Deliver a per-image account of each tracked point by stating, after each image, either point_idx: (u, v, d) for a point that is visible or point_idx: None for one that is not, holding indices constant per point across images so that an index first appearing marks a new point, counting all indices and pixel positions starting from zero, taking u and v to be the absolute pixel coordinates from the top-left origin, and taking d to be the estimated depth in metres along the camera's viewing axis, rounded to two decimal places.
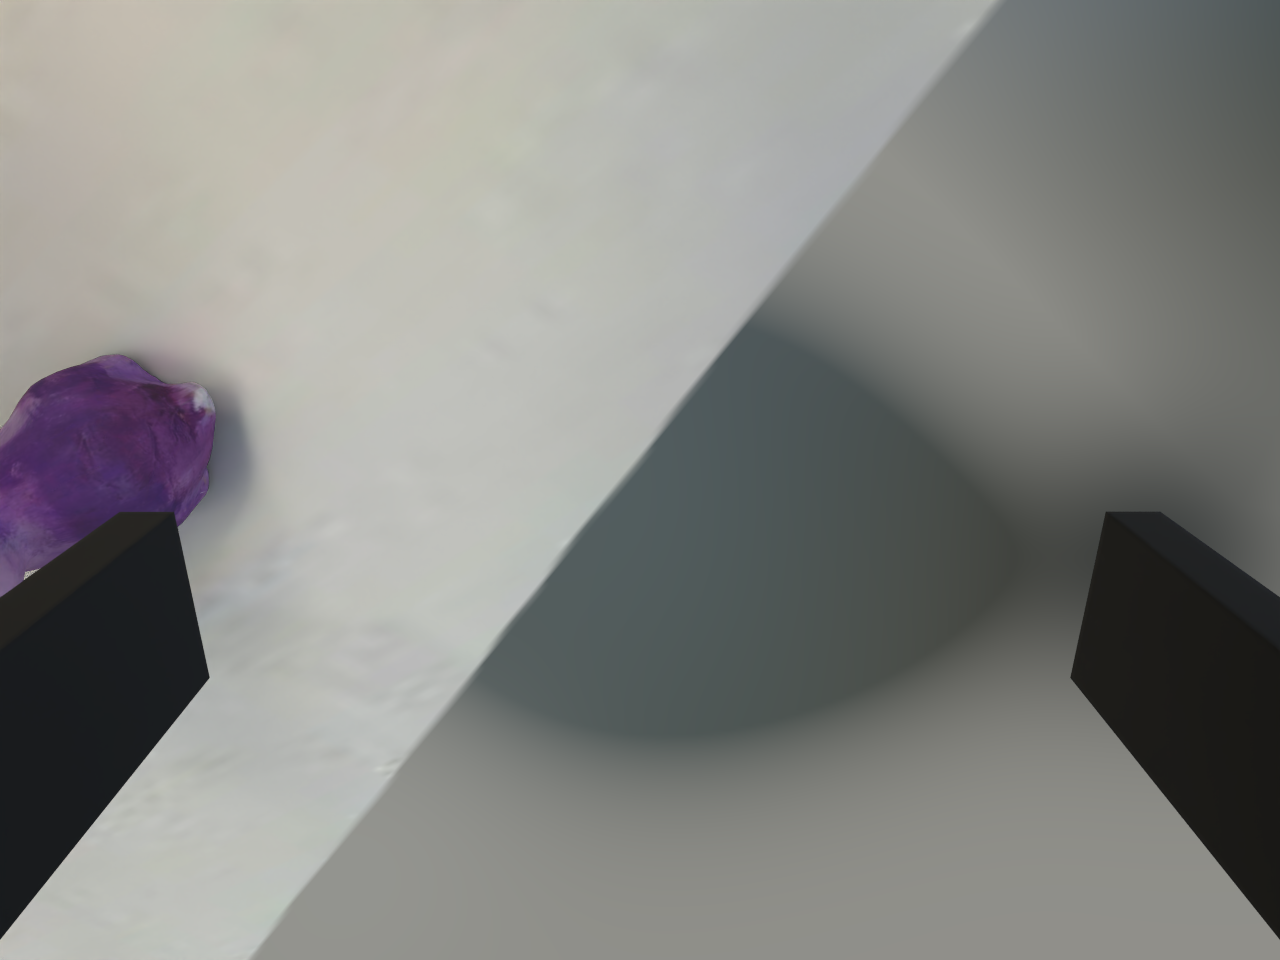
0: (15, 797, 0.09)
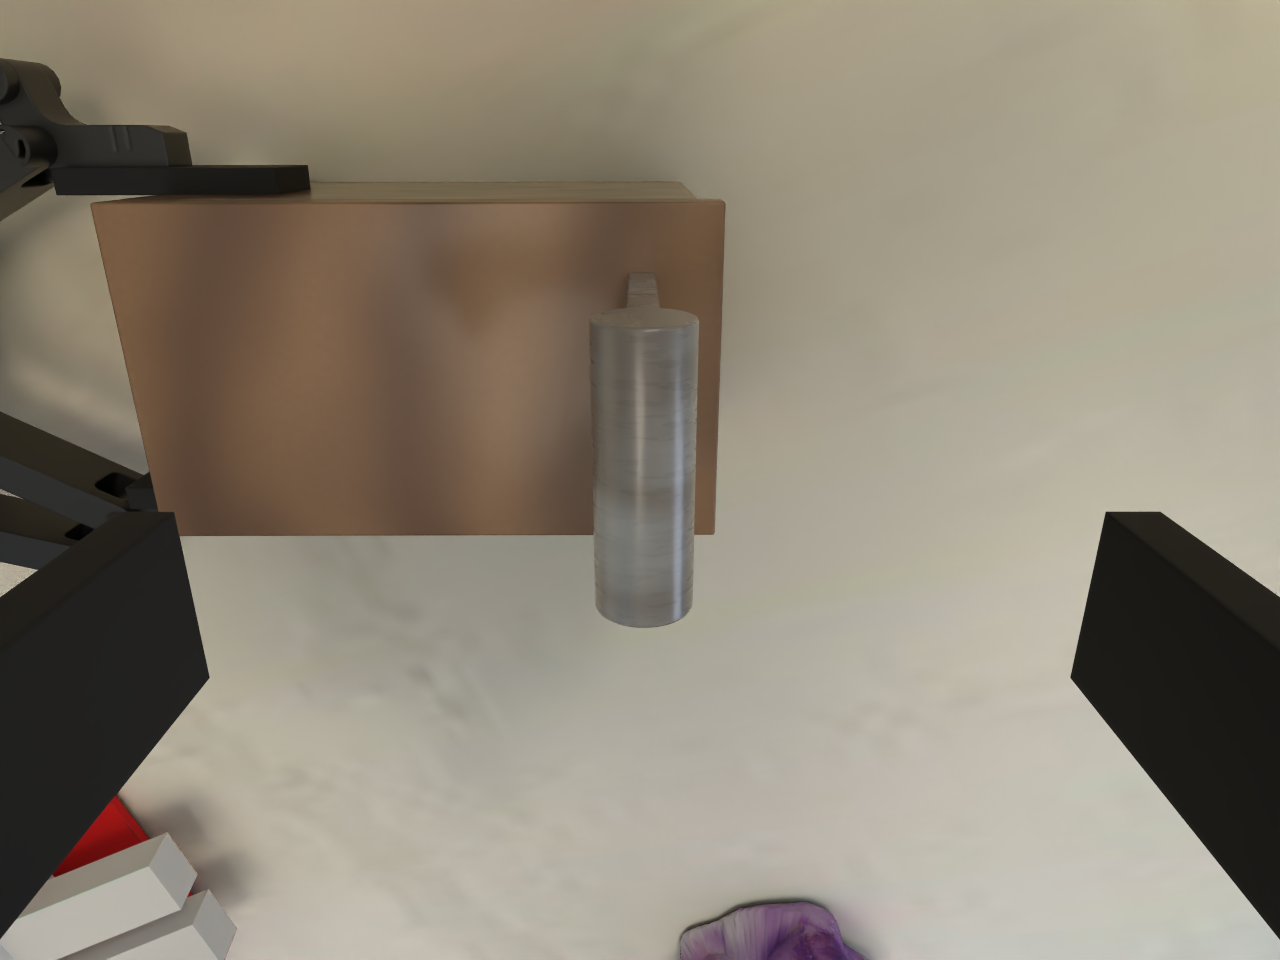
0: (16, 798, 0.09)
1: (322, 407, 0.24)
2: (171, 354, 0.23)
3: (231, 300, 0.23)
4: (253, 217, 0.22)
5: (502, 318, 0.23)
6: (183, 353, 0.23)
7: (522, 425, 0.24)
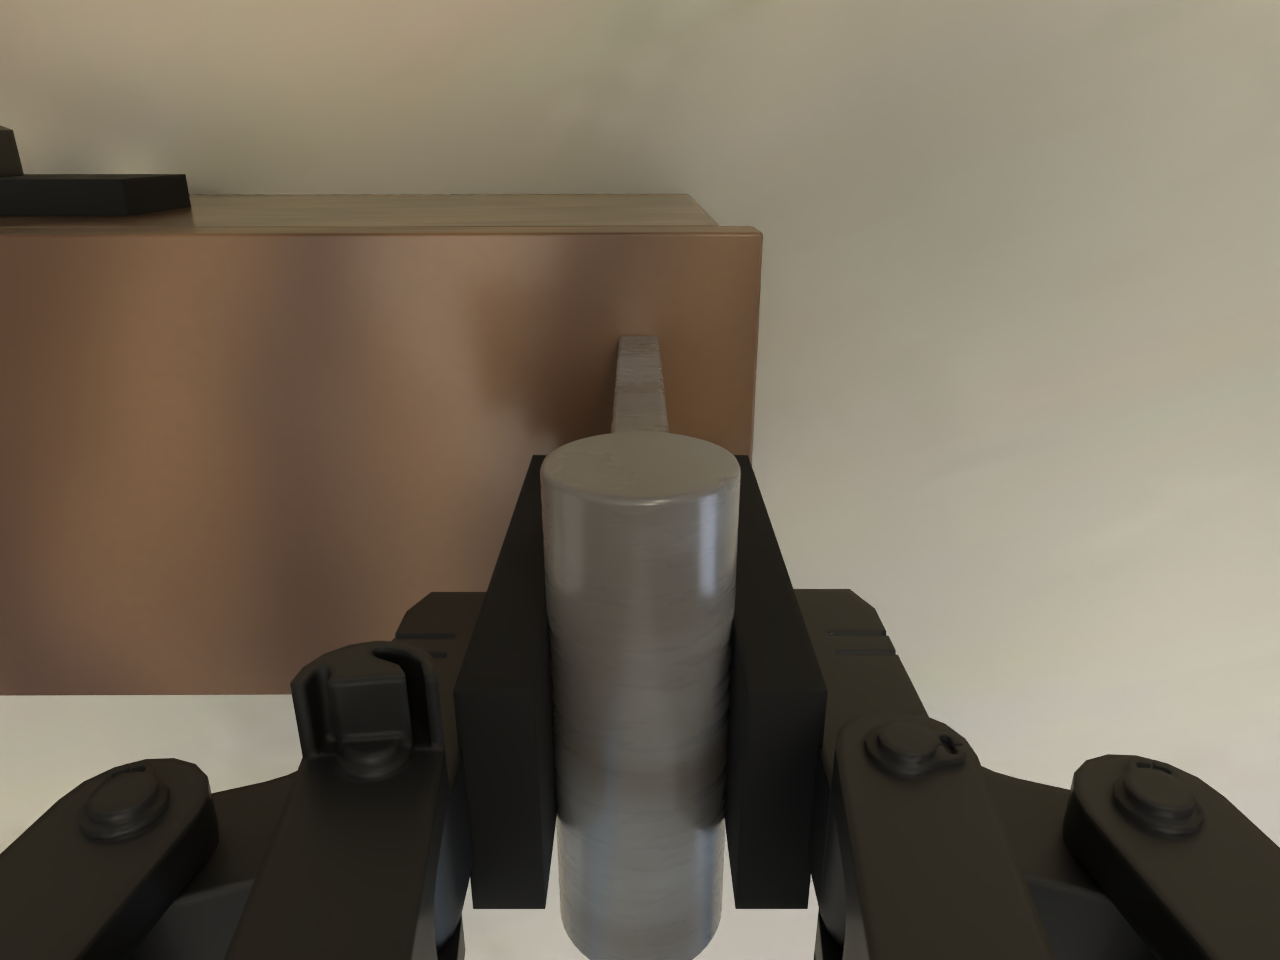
0: None
1: (179, 524, 0.17)
2: None
3: (35, 374, 0.16)
4: (59, 255, 0.15)
5: (434, 400, 0.16)
6: None
7: (467, 547, 0.17)
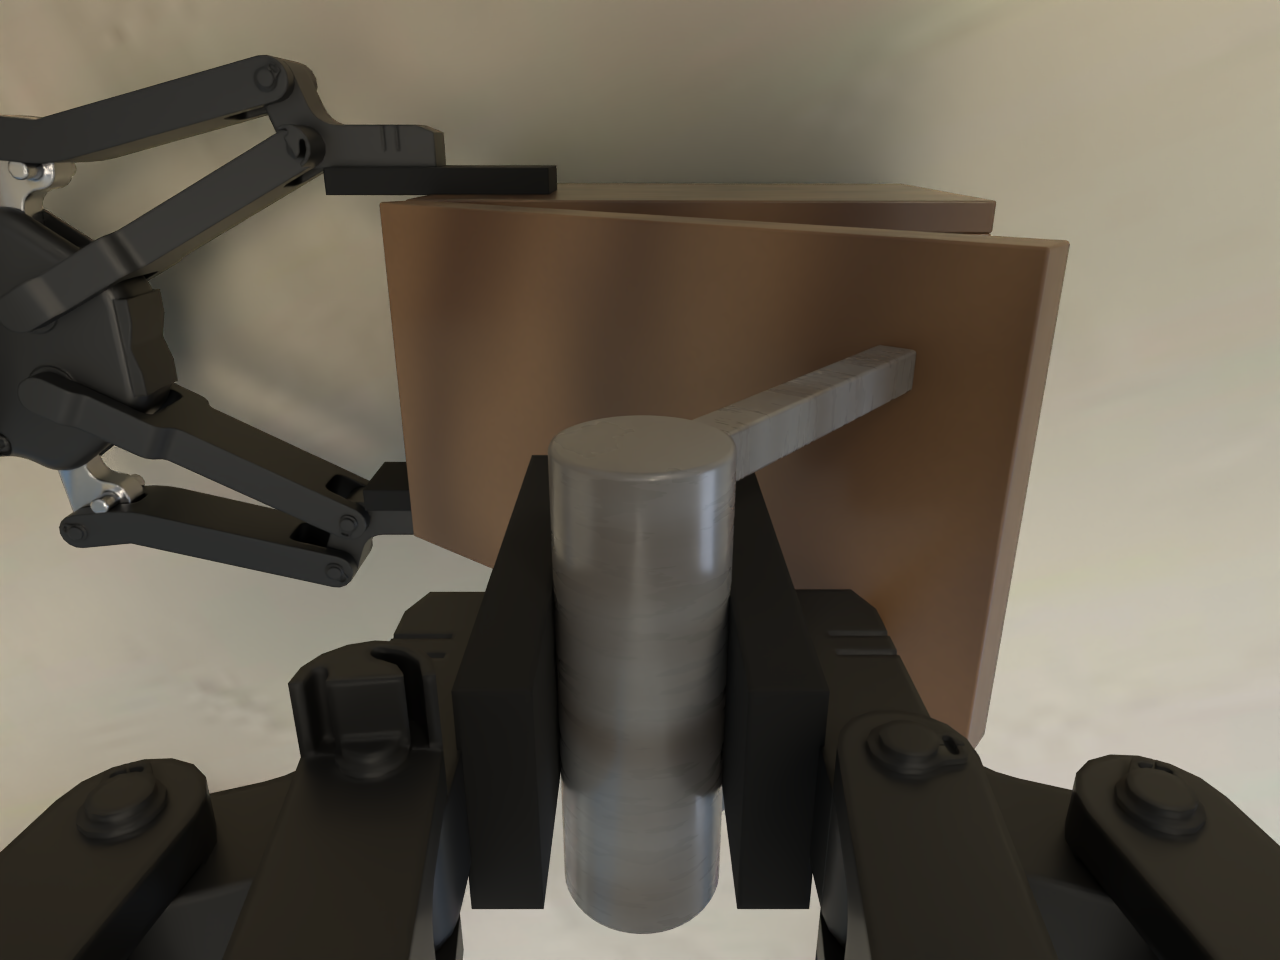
0: None
1: (532, 445, 0.21)
2: (425, 361, 0.23)
3: (468, 313, 0.21)
4: (489, 225, 0.20)
5: (711, 380, 0.17)
6: (433, 362, 0.22)
7: None
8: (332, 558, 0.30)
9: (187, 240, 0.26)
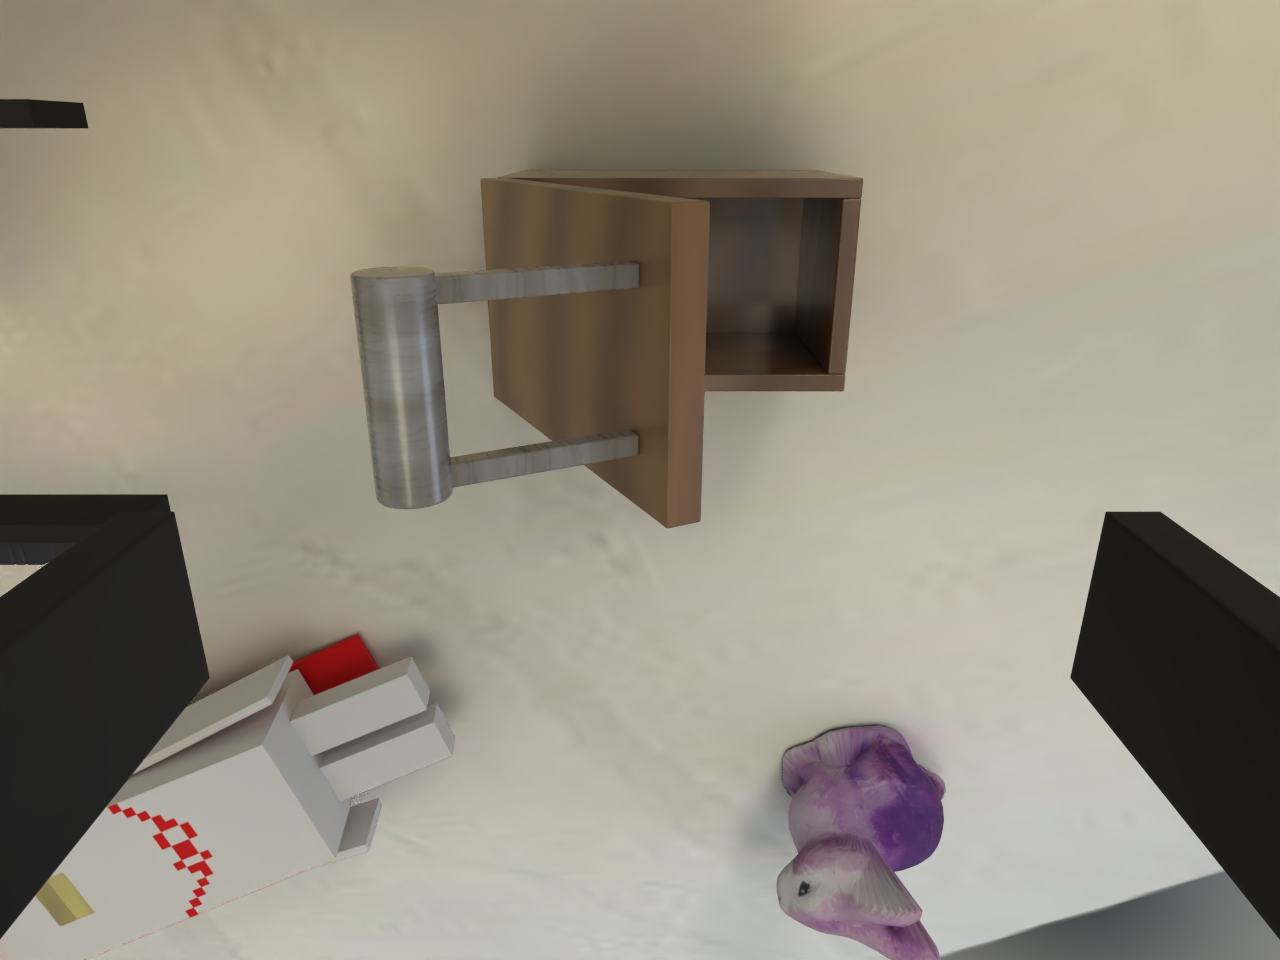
0: (15, 798, 0.09)
1: (530, 331, 0.34)
2: None
3: (509, 247, 0.34)
4: (514, 192, 0.33)
5: None
6: None
7: (589, 376, 0.29)
8: None
9: None
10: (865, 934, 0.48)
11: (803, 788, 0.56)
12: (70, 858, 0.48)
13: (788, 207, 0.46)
